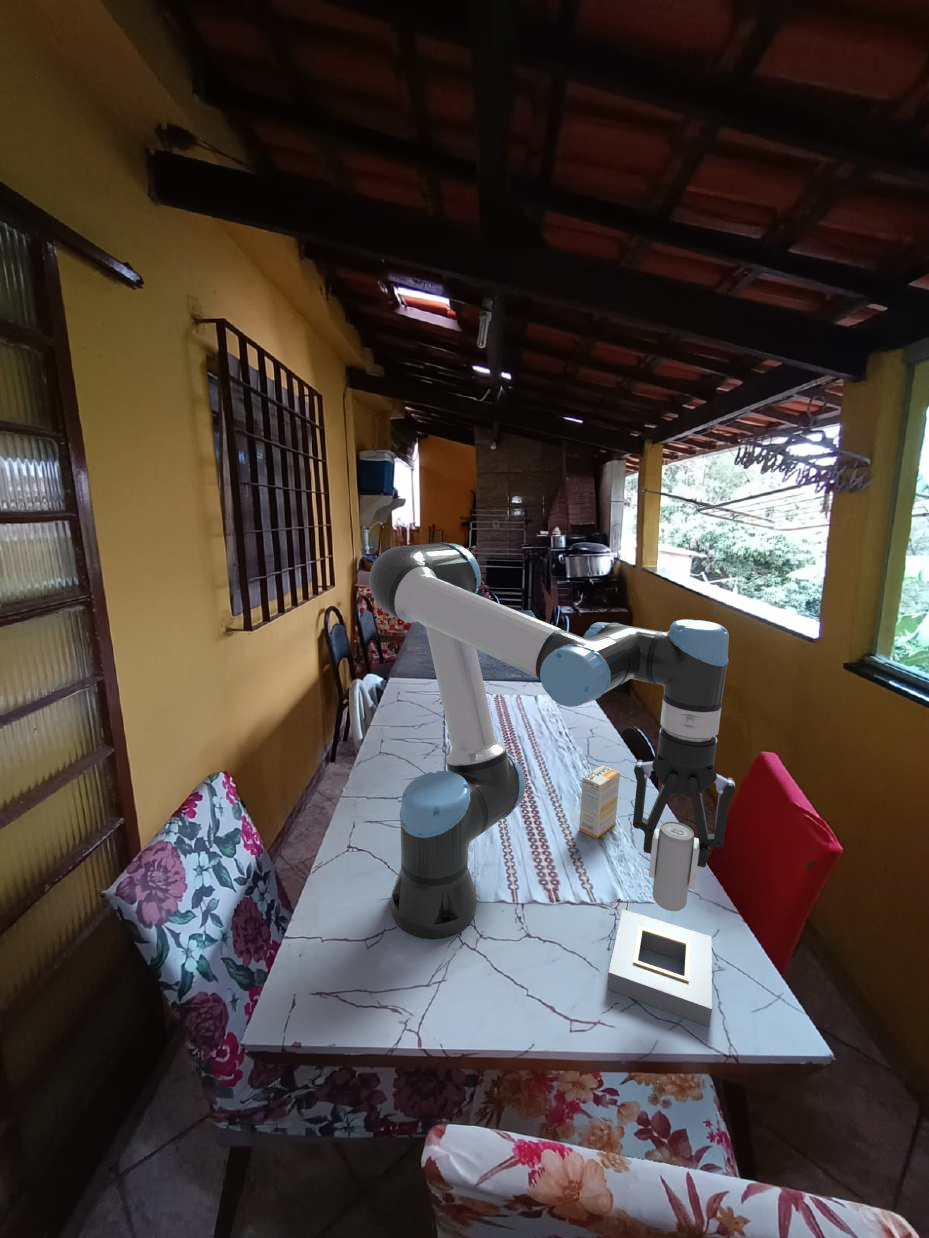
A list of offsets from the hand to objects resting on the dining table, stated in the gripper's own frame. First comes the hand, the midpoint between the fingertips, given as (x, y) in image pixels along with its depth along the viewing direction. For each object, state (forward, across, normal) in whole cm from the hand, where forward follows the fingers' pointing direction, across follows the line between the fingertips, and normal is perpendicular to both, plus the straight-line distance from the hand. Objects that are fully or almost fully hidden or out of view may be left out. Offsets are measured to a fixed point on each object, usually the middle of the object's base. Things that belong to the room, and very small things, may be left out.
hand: (671, 876), depth 80 cm
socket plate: (+17, 0, 0) cm, 17 cm away
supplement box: (+17, -16, +34) cm, 41 cm away
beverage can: (+4, 0, 0) cm, 4 cm away
